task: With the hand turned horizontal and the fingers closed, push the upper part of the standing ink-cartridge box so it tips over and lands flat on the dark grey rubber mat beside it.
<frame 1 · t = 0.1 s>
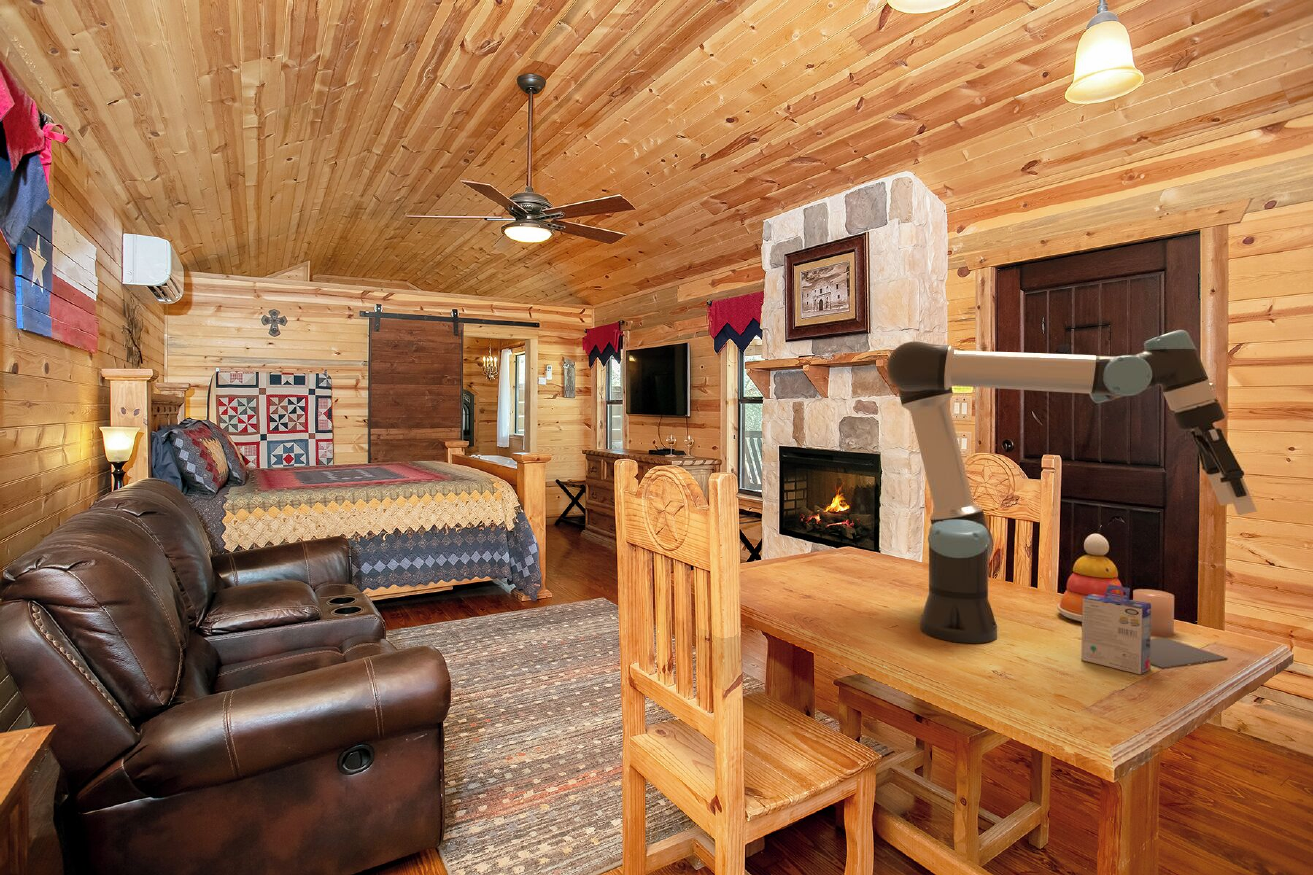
hand: (1237, 508, 129), 28 cm above the table, tool tilted 20°, fingers open, 13 cm apart
stacking toy: (1093, 620, 149), on the table
pink pillar candle: (1152, 630, 142), on the table
mat: (1163, 652, 128), on the table
ink cartridge box: (1115, 665, 123), on the table
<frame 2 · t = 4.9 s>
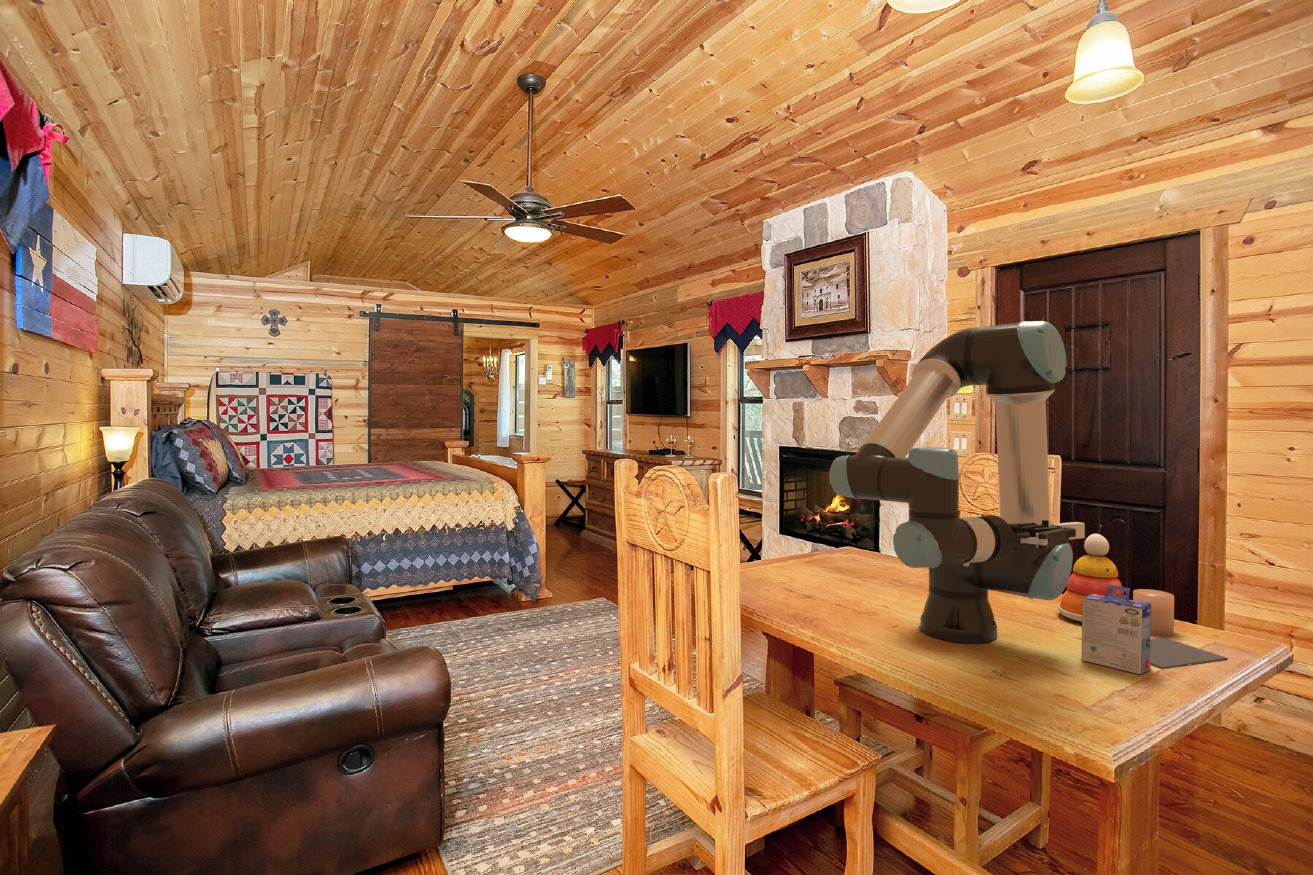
hand: (1080, 529, 119), 26 cm above the table, tool horizontal, fingers closed
nothing on the table moved.
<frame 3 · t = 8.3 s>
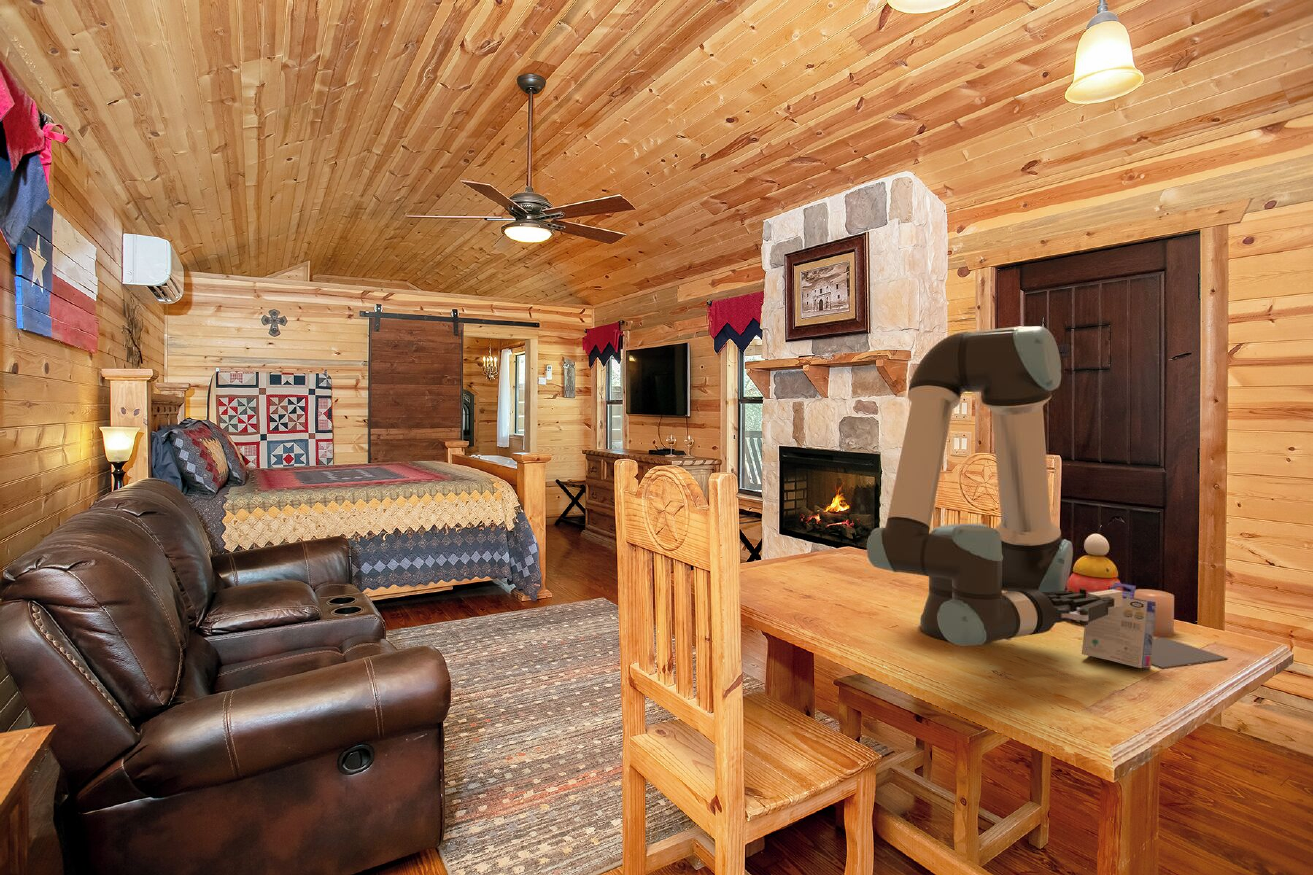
hand: (1117, 597, 122), 13 cm above the table, tool horizontal, fingers closed
ink cartridge box: (1115, 662, 123), on the table, touching gripper
everything else where it was.
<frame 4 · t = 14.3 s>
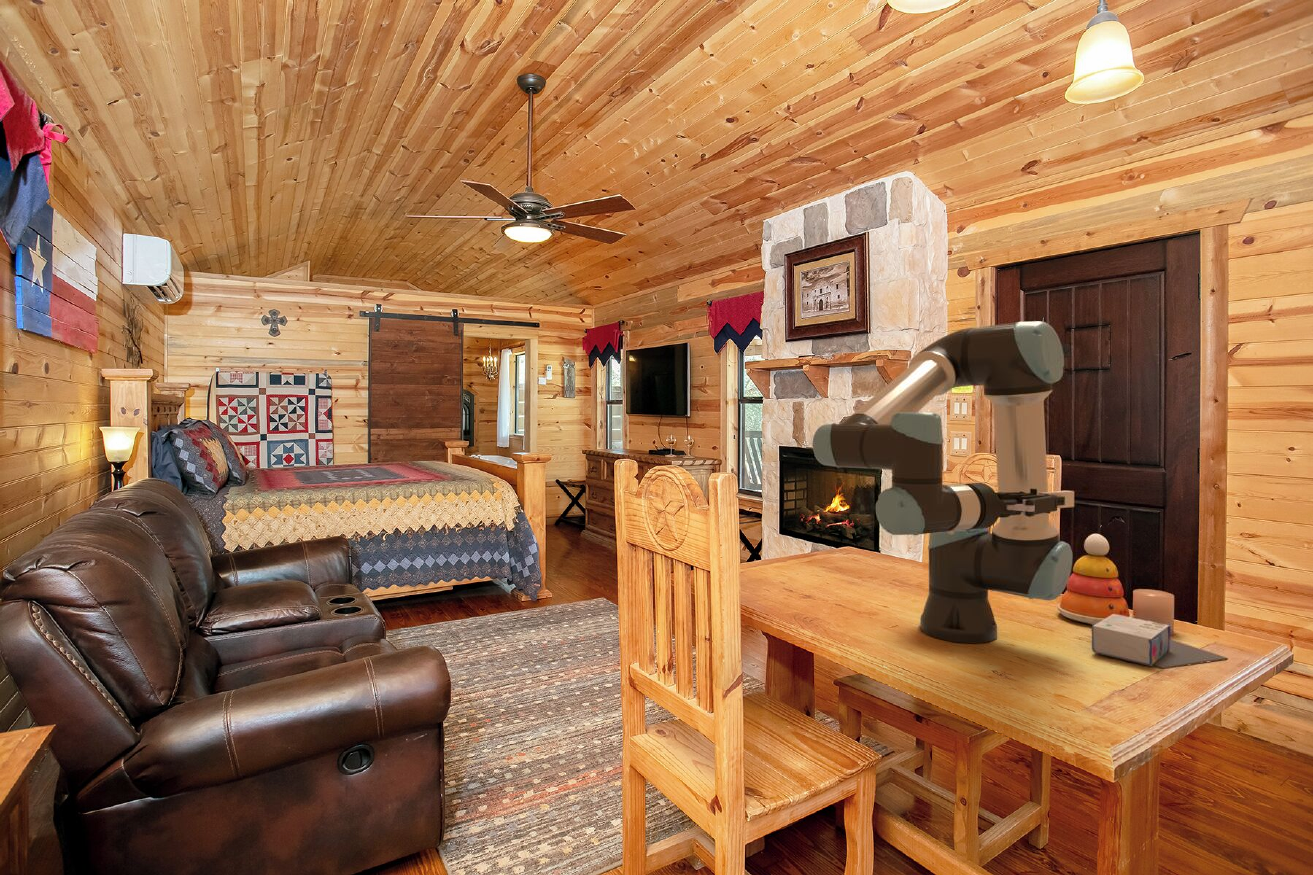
hand: (1070, 498, 116), 32 cm above the table, tool horizontal, fingers closed
ink cartridge box: (1120, 646, 124), point 3 cm above the table, touching mat
everything else where it was.
at the end: ink cartridge box tilted 89°; ink cartridge box inside the target area (11.0 cm from its centre), point 2.8 cm above the table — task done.
